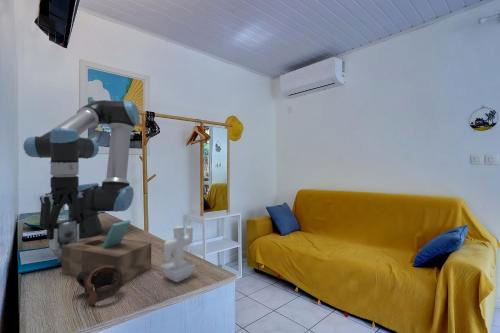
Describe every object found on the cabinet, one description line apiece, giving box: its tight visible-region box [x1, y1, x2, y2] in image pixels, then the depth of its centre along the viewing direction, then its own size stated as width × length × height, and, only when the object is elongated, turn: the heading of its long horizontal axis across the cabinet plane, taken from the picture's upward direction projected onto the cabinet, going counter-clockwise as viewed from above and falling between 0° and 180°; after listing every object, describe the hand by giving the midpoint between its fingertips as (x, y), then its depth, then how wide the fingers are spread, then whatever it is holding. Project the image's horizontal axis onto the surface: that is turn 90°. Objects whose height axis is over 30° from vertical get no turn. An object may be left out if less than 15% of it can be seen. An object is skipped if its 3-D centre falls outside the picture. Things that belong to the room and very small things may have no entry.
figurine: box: [160, 225, 197, 283], centre depth 75 cm, size 7×9×15 cm
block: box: [61, 234, 152, 283], centre depth 79 cm, size 13×22×8 cm, turn 70°
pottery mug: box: [76, 266, 126, 306], centre depth 64 cm, size 12×10×8 cm
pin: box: [55, 218, 77, 264], centre depth 85 cm, size 6×6×13 cm
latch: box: [102, 219, 132, 248], centre depth 78 cm, size 6×8×1 cm
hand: (64, 245), depth 85 cm, fingers closed on pin, 6 cm apart
